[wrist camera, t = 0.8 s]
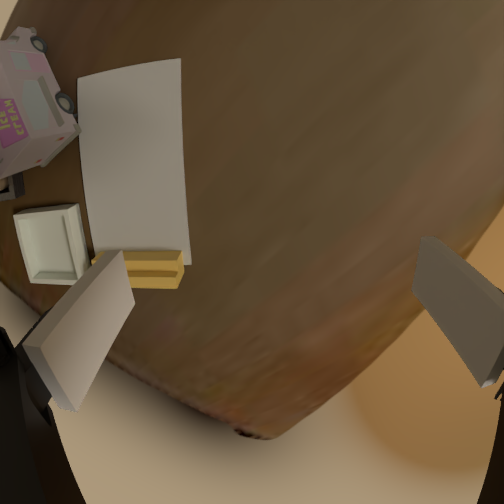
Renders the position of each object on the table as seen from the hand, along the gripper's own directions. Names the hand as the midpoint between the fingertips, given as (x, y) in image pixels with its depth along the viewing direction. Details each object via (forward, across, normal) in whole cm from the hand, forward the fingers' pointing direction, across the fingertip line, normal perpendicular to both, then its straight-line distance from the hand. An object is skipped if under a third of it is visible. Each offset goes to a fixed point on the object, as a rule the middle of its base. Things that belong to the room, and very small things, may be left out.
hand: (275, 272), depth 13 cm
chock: (+24, -17, -10) cm, 31 cm away
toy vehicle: (+25, -29, +15) cm, 41 cm away
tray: (+25, -30, -7) cm, 40 cm away
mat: (+25, -16, +2) cm, 30 cm away
